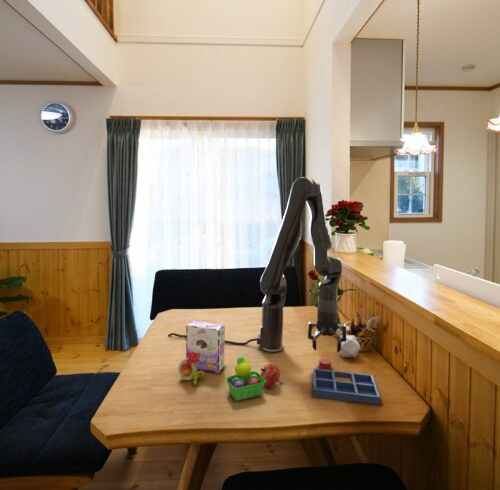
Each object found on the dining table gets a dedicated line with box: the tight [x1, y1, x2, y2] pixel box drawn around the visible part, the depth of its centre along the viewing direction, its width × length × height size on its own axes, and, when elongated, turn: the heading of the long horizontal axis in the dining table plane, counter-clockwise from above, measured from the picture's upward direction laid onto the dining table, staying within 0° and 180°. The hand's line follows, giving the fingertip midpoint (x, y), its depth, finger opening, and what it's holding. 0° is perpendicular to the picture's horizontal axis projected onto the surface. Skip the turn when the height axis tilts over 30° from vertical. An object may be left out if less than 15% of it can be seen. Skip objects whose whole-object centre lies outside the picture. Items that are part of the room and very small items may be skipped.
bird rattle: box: [178, 351, 205, 386], centre depth 121 cm, size 6×11×9 cm
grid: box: [312, 368, 381, 405], centre depth 119 cm, size 21×14×2 cm
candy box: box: [185, 320, 226, 374], centre depth 131 cm, size 14×6×16 cm, turn 71°
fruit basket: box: [225, 355, 265, 402], centre depth 114 cm, size 11×9×11 cm
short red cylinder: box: [318, 358, 332, 370], centre depth 133 cm, size 4×4×3 cm
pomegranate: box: [259, 363, 282, 389], centre depth 120 cm, size 7×7×10 cm
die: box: [339, 334, 361, 358], centre depth 144 cm, size 8×9×10 cm
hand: (326, 350), depth 132 cm, fingers open, 8 cm apart
